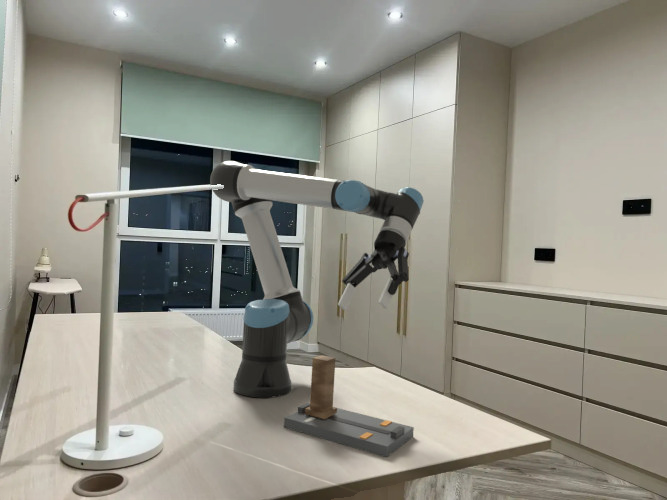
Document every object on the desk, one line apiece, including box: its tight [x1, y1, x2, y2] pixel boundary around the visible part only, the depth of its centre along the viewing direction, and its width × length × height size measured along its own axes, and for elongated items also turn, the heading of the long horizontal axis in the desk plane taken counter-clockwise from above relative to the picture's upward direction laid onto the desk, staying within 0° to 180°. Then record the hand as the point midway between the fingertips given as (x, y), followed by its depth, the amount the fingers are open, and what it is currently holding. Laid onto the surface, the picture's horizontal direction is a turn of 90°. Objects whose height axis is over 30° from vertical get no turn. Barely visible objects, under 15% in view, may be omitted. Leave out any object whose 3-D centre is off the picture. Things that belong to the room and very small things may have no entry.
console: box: [283, 402, 415, 458], centre depth 107 cm, size 24×13×3 cm, turn 59°
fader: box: [305, 355, 338, 419], centre depth 111 cm, size 5×5×12 cm
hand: (361, 306), depth 120 cm, fingers open, 13 cm apart
